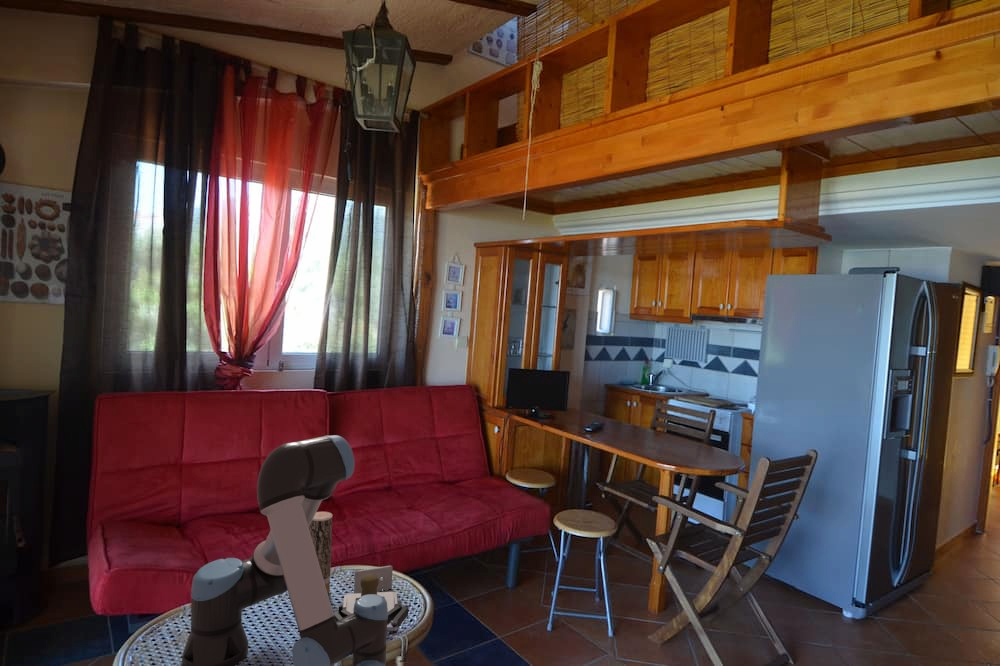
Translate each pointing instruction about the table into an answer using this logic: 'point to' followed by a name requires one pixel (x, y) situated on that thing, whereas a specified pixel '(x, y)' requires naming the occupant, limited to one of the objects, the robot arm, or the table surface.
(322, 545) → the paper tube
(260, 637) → the table surface
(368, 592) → the cork
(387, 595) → the socket block
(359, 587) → the cassette
